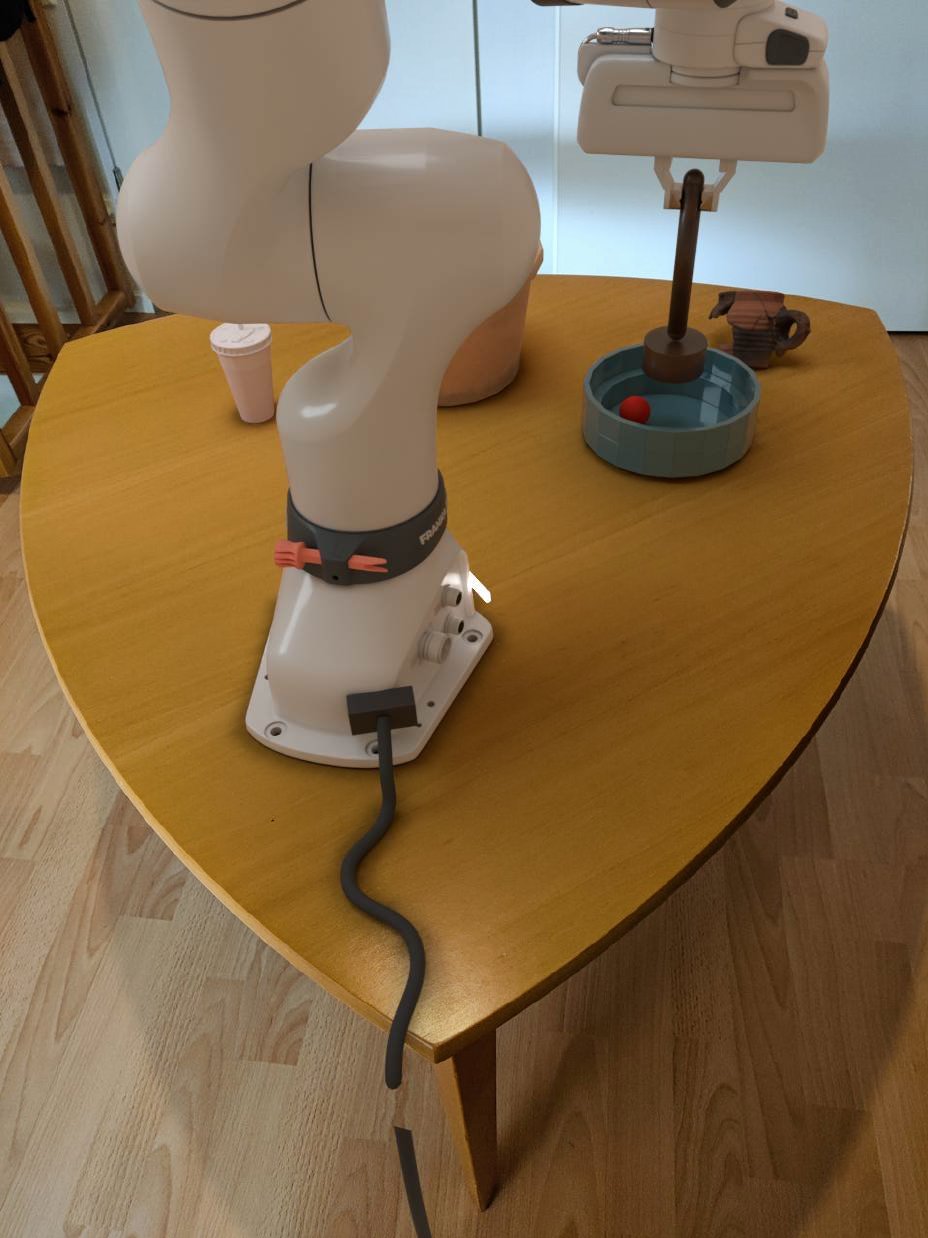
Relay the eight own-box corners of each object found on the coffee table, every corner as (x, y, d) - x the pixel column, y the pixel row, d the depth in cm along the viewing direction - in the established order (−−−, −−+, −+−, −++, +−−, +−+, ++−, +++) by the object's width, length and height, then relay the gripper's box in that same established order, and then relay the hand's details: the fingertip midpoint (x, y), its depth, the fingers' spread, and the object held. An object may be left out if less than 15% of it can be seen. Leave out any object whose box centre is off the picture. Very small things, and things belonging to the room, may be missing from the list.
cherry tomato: (623, 436, 102) (652, 429, 101) (612, 410, 101) (642, 402, 99) (627, 420, 105) (656, 412, 103) (617, 394, 103) (646, 386, 101)
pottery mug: (690, 365, 114) (696, 289, 112) (725, 368, 121) (732, 297, 119) (793, 367, 106) (802, 286, 105) (824, 370, 114) (833, 295, 112)
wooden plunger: (701, 386, 95) (728, 183, 82) (637, 380, 96) (655, 180, 83) (706, 355, 99) (733, 157, 86) (645, 350, 100) (663, 154, 87)
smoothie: (292, 398, 111) (270, 278, 102) (279, 430, 107) (254, 307, 97) (236, 398, 112) (209, 278, 102) (221, 429, 107) (191, 307, 98)
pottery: (580, 376, 112) (585, 251, 102) (415, 443, 104) (404, 314, 94) (471, 307, 126) (466, 191, 116) (317, 362, 117) (298, 241, 107)
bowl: (746, 493, 95) (756, 440, 91) (568, 473, 99) (570, 421, 95) (755, 399, 107) (764, 348, 103) (596, 384, 111) (598, 335, 107)
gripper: (571, 37, 77) (566, 215, 87) (847, 42, 73) (810, 229, 83) (585, 16, 82) (579, 188, 91) (846, 20, 77) (811, 200, 87)
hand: (690, 208), depth 87 cm, fingers closed on wooden plunger
